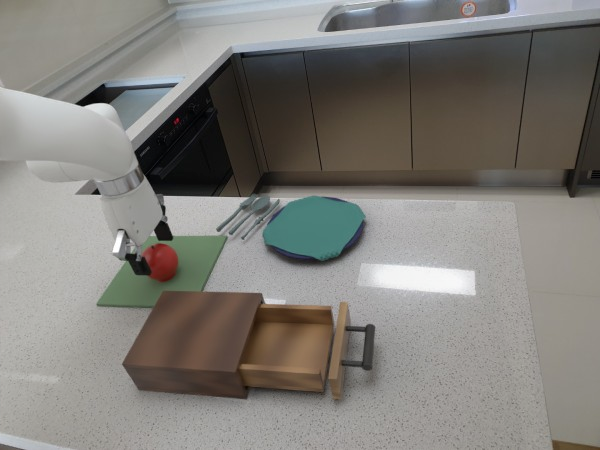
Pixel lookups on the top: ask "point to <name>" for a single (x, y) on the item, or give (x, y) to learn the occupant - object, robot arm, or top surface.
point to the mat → (189, 277)
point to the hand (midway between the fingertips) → (155, 256)
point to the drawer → (301, 348)
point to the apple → (161, 261)
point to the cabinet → (194, 343)
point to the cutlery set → (306, 226)
